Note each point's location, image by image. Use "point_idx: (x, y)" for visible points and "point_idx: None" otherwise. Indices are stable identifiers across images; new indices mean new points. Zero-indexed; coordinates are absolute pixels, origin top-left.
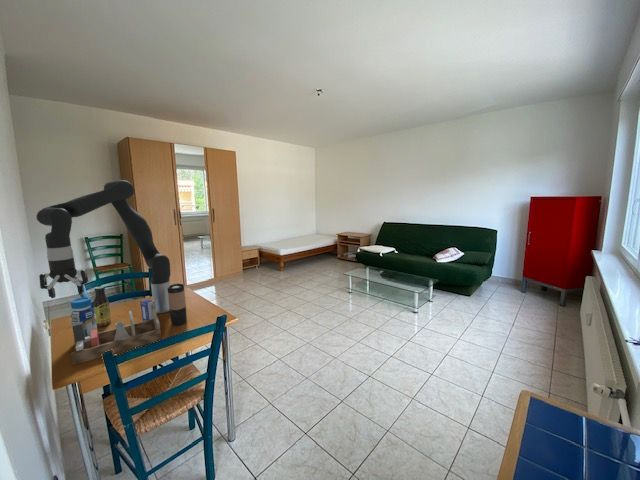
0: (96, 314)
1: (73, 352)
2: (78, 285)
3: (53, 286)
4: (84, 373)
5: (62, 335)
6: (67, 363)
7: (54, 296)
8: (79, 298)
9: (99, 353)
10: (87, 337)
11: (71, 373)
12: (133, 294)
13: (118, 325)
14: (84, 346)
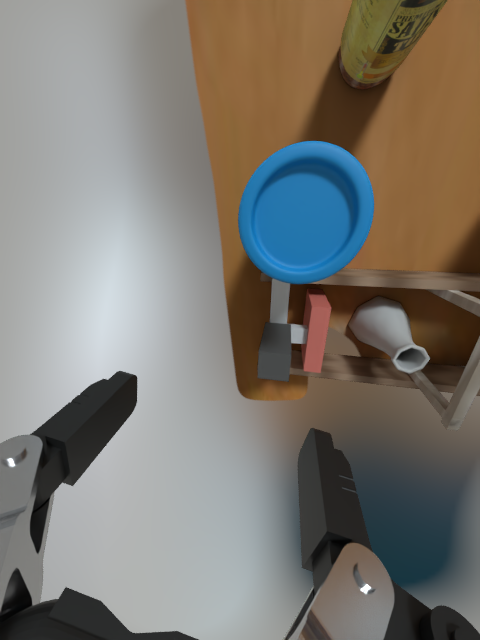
0: (362, 32)
1: None
2: (315, 593)
3: (40, 462)
4: (280, 399)
5: (217, 90)
6: (249, 334)
7: (132, 396)
8: (295, 160)
9: None
10: (296, 335)
11: (259, 382)
12: None
13: (400, 370)
14: None
